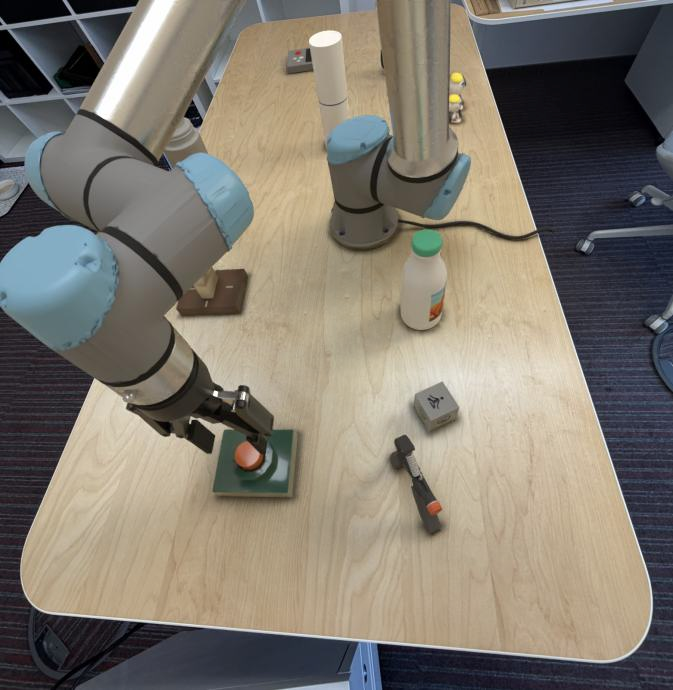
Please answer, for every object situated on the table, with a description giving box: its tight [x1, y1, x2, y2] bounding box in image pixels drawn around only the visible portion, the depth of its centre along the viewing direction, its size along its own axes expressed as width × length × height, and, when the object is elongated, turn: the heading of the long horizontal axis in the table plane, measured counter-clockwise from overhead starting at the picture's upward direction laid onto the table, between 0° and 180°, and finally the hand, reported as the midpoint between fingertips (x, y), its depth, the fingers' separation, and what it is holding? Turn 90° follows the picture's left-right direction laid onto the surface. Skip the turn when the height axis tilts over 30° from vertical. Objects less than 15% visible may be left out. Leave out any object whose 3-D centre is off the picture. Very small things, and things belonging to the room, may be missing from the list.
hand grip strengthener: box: [389, 434, 443, 536], centre depth 56 cm, size 2×12×15 cm, turn 24°
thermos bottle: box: [163, 116, 209, 170], centre depth 88 cm, size 8×8×28 cm
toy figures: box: [449, 72, 467, 124], centre depth 108 cm, size 12×4×8 cm, turn 169°
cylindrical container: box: [308, 30, 351, 150], centre depth 99 cm, size 7×7×25 cm
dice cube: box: [413, 381, 460, 432], centre depth 67 cm, size 5×5×5 cm
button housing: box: [211, 429, 299, 498], centre depth 66 cm, size 12×10×5 cm
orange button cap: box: [235, 441, 264, 470], centre depth 63 cm, size 4×4×2 cm
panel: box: [175, 268, 248, 317], centre depth 87 cm, size 13×10×3 cm
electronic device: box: [286, 47, 314, 75], centre depth 134 cm, size 10×2×15 cm
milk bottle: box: [400, 228, 448, 331], centre depth 71 cm, size 8×8×20 cm
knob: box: [194, 266, 218, 299], centre depth 83 cm, size 6×2×8 cm, turn 177°
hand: (237, 444), depth 59 cm, fingers open, 7 cm apart
